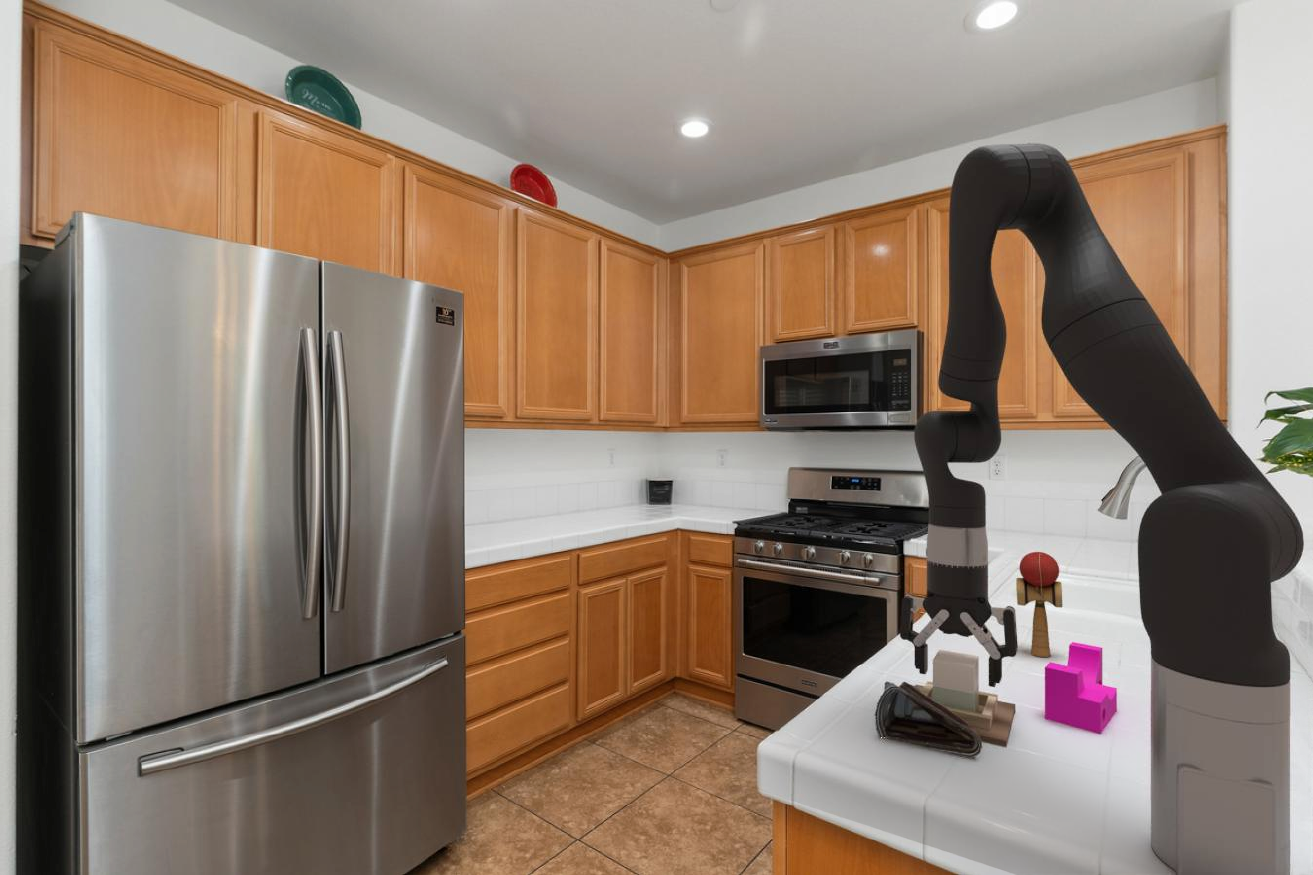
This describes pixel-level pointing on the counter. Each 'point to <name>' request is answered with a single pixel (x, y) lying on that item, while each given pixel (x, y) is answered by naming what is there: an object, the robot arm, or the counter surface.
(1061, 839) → the counter surface
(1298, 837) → the counter surface
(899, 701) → the chocolate cake
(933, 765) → the counter surface
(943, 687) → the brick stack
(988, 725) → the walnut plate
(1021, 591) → the kendama
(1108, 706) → the toy block
